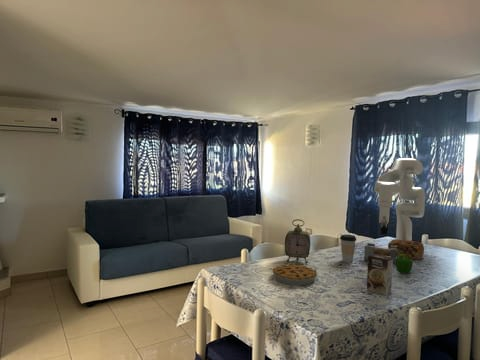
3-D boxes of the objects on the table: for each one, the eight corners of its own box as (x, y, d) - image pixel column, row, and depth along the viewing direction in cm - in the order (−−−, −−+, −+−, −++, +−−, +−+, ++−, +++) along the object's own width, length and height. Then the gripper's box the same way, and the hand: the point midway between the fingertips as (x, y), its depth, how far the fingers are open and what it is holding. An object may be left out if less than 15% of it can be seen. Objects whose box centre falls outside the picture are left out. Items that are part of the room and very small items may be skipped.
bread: (424, 257, 209) (424, 241, 209) (416, 260, 202) (417, 244, 202) (394, 251, 223) (395, 236, 223) (386, 254, 217) (387, 238, 216)
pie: (265, 274, 174) (265, 264, 173) (302, 270, 181) (302, 261, 181) (285, 289, 153) (285, 278, 153) (325, 283, 161) (326, 273, 161)
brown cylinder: (368, 254, 201) (368, 247, 201) (369, 252, 205) (369, 245, 204) (398, 258, 194) (398, 251, 194) (398, 255, 198) (398, 248, 197)
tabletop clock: (284, 262, 194) (285, 219, 192) (285, 258, 202) (286, 217, 201) (309, 264, 190) (310, 221, 189) (310, 260, 199) (311, 218, 198)
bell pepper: (410, 271, 182) (411, 252, 181) (413, 275, 174) (414, 256, 173) (393, 269, 184) (394, 251, 184) (396, 274, 176) (397, 255, 176)
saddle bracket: (390, 260, 202) (391, 245, 201) (396, 261, 200) (396, 246, 200) (390, 264, 194) (390, 248, 194) (395, 264, 193) (396, 249, 192)
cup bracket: (365, 257, 208) (366, 242, 207) (374, 258, 206) (375, 243, 205) (364, 260, 200) (364, 245, 200) (373, 261, 198) (373, 246, 197)
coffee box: (366, 290, 153) (367, 255, 152) (372, 286, 158) (373, 252, 157) (386, 296, 147) (387, 259, 146) (392, 292, 151) (393, 256, 150)
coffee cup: (353, 258, 204) (354, 234, 203) (357, 263, 194) (358, 237, 193) (337, 258, 205) (338, 233, 204) (340, 262, 195) (341, 237, 194)
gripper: (379, 201, 207) (378, 229, 209) (377, 205, 192) (376, 235, 193) (392, 202, 204) (391, 230, 205) (391, 206, 189) (390, 236, 190)
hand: (384, 232), depth 199 cm, fingers open, 9 cm apart
